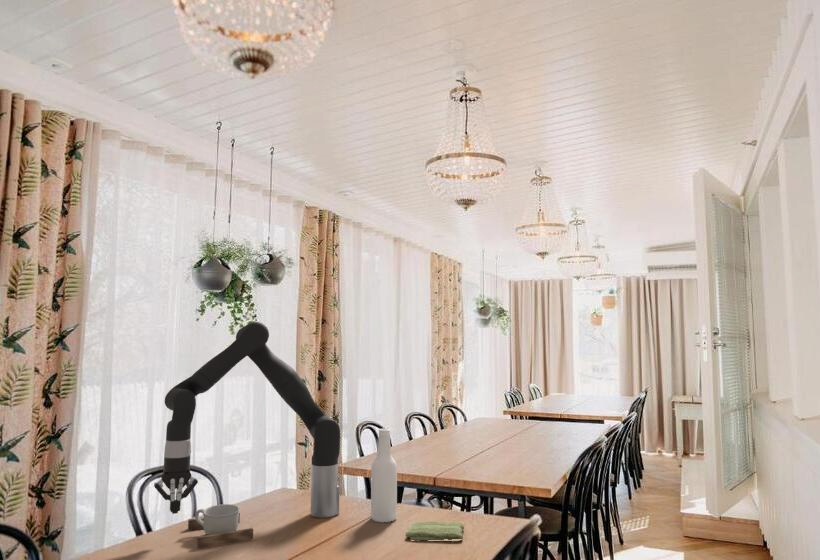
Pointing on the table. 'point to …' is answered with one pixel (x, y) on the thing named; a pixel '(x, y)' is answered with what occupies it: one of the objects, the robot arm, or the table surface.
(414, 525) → the washcloth
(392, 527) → the table surface
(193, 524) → the pair of wooden slats
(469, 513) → the table surface
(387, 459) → the alcohol
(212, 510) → the teacup
